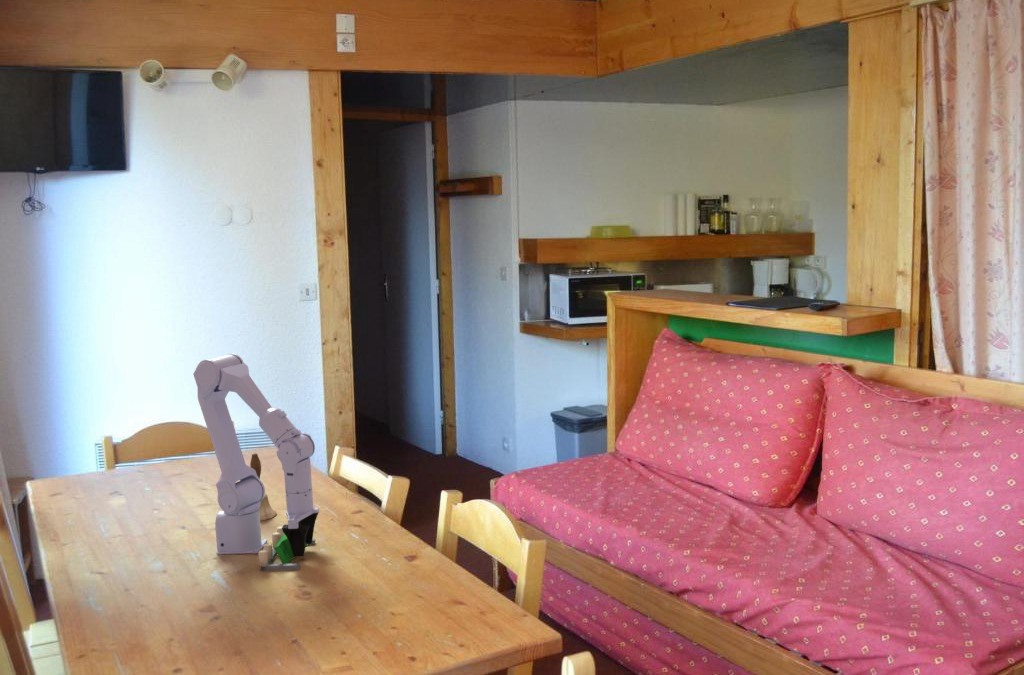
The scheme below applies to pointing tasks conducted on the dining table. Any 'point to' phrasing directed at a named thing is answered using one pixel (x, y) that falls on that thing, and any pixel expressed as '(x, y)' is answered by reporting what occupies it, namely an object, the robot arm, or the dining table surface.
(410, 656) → the dining table surface
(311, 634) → the dining table surface
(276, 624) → the dining table surface
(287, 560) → the pipe clamp
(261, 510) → the hand bell
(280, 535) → the peg cradle
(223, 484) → the robot arm
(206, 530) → the dining table surface
